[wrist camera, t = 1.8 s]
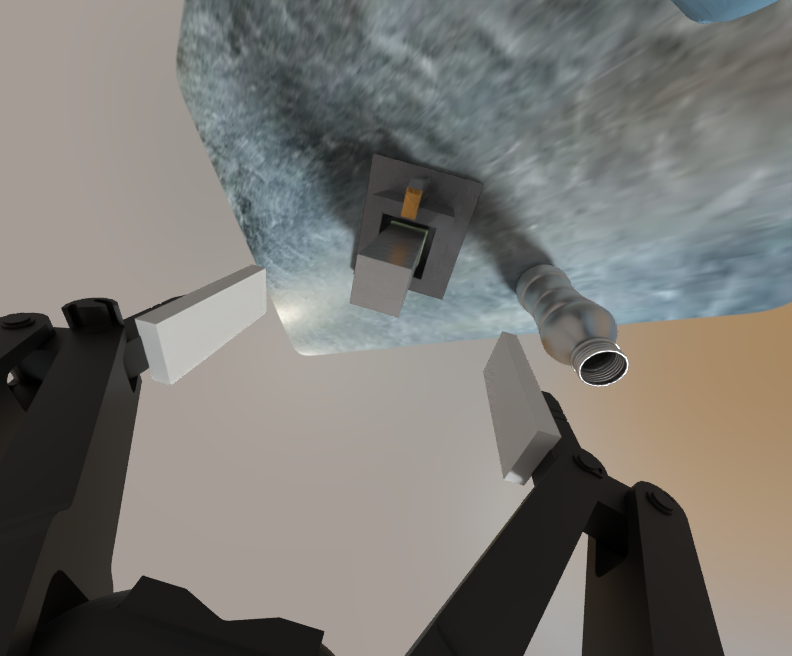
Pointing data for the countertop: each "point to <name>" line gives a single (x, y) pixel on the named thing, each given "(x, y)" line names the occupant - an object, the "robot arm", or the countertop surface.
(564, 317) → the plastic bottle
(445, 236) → the stand
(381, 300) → the column
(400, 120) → the countertop surface
